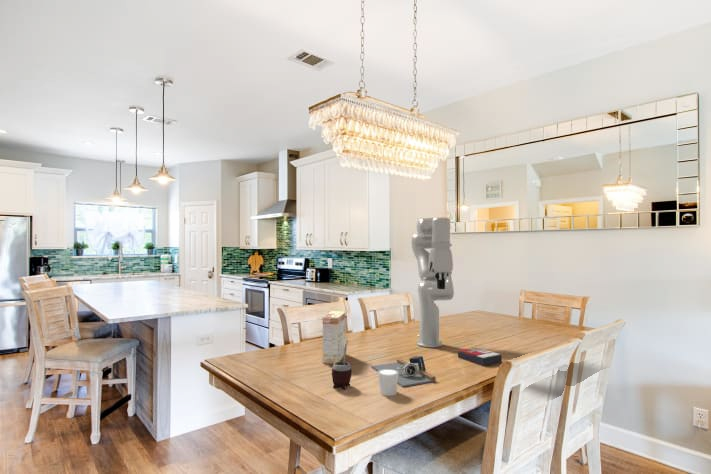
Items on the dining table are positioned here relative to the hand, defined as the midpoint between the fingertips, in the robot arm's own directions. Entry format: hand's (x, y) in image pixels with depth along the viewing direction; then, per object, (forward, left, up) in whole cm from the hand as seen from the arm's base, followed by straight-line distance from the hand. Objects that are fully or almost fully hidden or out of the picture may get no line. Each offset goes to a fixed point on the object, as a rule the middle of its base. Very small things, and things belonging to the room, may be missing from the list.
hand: (441, 288), depth 167 cm
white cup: (+21, -38, -31) cm, 54 cm away
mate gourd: (+9, -50, -31) cm, 60 cm away
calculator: (+5, +17, -32) cm, 36 cm away
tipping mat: (+7, -24, -31) cm, 40 cm away
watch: (+8, -16, -28) cm, 33 cm away
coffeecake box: (-23, -40, -31) cm, 56 cm away
